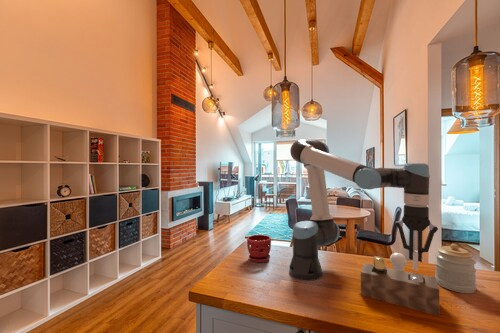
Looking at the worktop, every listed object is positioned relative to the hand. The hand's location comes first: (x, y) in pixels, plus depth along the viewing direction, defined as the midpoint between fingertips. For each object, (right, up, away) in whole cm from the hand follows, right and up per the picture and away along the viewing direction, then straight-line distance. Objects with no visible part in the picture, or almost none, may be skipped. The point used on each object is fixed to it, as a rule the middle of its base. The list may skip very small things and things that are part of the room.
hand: (415, 268), depth 86 cm
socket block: (-5, -13, +3) cm, 14 cm away
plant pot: (-56, -13, +41) cm, 71 cm away
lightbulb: (+6, -13, +20) cm, 24 cm away
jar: (+25, -13, +12) cm, 31 cm away
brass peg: (-10, -7, +6) cm, 13 cm away
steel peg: (0, -11, 0) cm, 11 cm away
